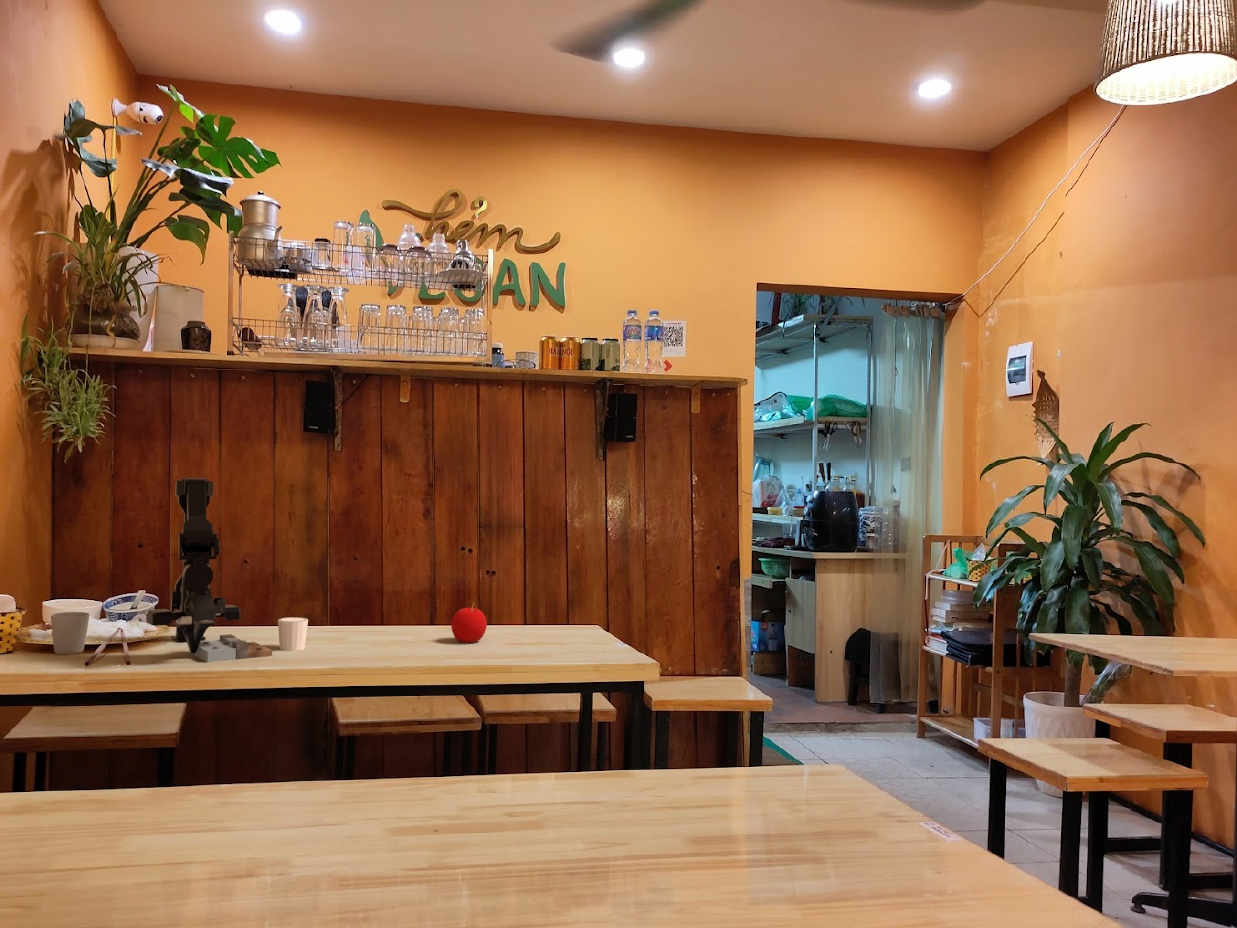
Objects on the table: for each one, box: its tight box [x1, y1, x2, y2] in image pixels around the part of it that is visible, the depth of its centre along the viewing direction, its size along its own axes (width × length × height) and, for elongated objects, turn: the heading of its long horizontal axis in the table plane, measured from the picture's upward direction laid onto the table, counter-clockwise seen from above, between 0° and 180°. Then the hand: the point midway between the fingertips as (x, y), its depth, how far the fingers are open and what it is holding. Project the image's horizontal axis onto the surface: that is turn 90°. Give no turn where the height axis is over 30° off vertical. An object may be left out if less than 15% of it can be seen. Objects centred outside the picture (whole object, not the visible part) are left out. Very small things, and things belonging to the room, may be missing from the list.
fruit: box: [451, 602, 488, 644], centre depth 243 cm, size 9×9×10 cm
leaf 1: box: [193, 636, 242, 663], centre depth 215 cm, size 8×12×4 cm
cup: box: [50, 611, 90, 655], centre depth 214 cm, size 8×10×8 cm
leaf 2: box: [219, 633, 273, 660], centre depth 219 cm, size 8×12×4 cm, turn 40°
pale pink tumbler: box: [277, 616, 309, 652], centre depth 226 cm, size 7×7×7 cm
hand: (193, 653), depth 212 cm, fingers closed
